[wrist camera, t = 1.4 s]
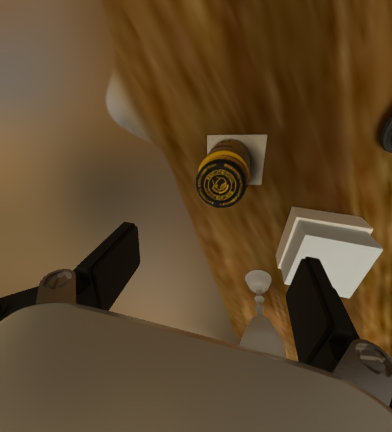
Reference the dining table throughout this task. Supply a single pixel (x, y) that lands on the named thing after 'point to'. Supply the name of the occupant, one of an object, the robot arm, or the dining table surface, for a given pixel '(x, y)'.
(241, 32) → the dining table surface
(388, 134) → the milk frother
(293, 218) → the tower base
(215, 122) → the dining table surface
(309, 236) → the tower top
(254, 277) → the chalice
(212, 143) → the condiment
